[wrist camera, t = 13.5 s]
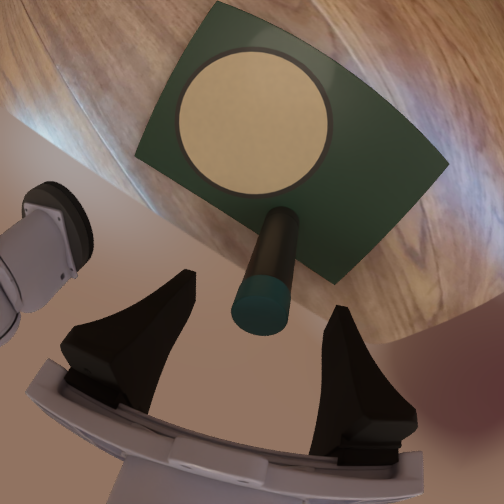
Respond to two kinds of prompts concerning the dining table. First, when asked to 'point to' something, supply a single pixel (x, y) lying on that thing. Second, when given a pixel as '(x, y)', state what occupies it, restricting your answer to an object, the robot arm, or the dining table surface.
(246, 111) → the kitchen scale
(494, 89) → the dining table surface
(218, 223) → the dining table surface
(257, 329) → the pill bottle
